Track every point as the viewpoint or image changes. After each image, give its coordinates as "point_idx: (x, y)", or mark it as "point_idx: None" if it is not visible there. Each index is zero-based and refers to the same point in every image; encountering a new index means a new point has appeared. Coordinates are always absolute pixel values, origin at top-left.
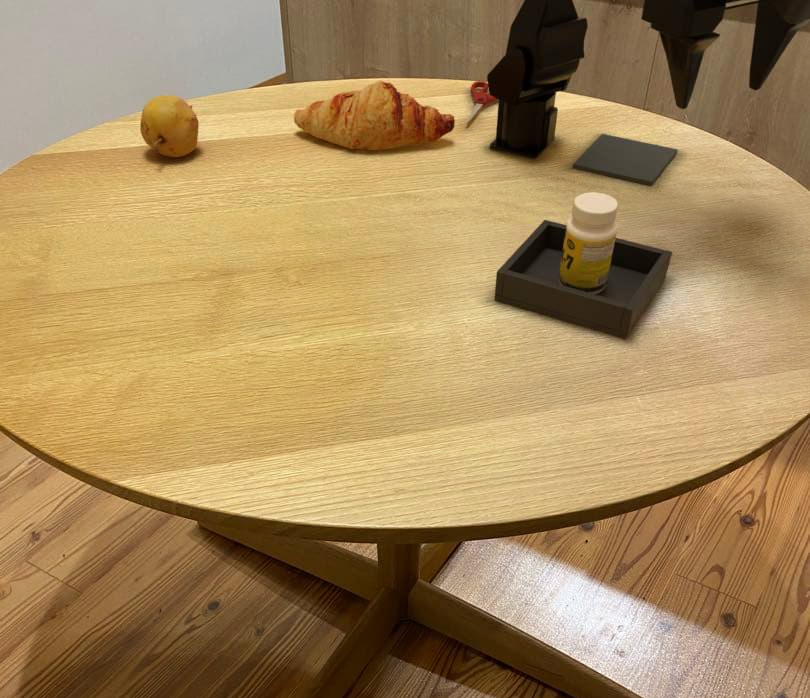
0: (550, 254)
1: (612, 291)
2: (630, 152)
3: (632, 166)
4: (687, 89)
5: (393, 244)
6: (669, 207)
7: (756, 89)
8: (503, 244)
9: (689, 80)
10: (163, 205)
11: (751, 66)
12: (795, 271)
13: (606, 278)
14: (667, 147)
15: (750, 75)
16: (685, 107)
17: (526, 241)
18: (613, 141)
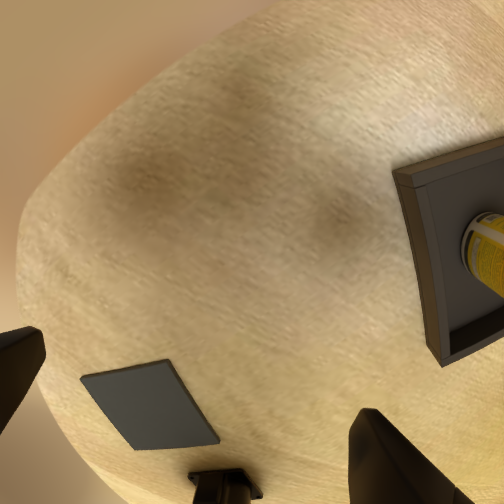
0: (449, 321)
1: (475, 203)
2: (134, 415)
3: (158, 398)
4: (418, 452)
5: (486, 417)
6: (194, 306)
7: (39, 332)
8: (442, 372)
9: (440, 474)
10: (487, 495)
11: (17, 401)
12: (206, 50)
13: (492, 215)
14: (87, 389)
15: (30, 381)
16: (373, 409)
17: (497, 338)
18: (135, 436)
